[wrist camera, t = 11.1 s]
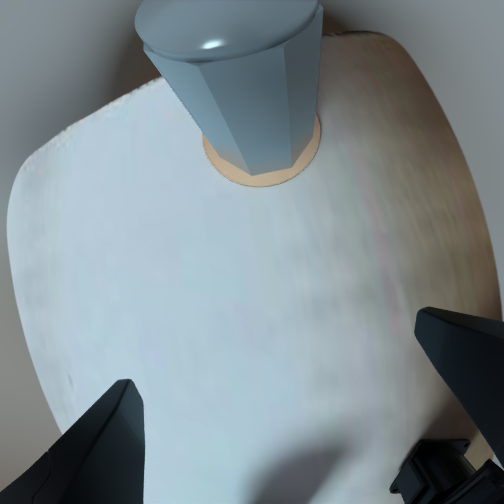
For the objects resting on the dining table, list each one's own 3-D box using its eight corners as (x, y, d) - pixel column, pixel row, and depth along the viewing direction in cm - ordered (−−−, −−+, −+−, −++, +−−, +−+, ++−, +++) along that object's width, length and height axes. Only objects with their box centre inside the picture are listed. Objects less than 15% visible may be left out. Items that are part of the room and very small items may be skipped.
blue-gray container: (327, 118, 20) (349, -24, 7) (276, 192, 20) (244, 74, 7) (250, 80, 21) (210, -50, 8) (197, 146, 21) (103, 34, 8)
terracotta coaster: (328, 97, 20) (329, 94, 20) (306, 199, 20) (306, 198, 20) (223, 81, 22) (221, 78, 21) (189, 174, 21) (187, 172, 21)
